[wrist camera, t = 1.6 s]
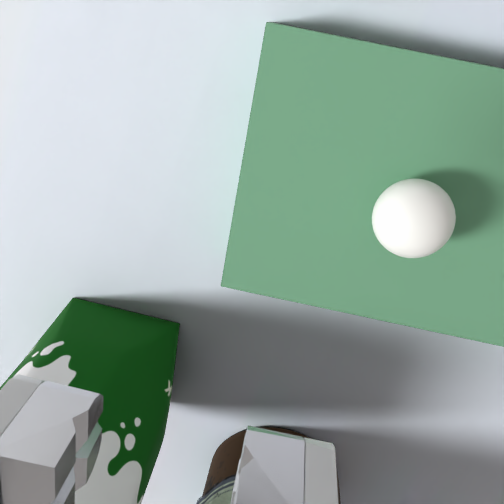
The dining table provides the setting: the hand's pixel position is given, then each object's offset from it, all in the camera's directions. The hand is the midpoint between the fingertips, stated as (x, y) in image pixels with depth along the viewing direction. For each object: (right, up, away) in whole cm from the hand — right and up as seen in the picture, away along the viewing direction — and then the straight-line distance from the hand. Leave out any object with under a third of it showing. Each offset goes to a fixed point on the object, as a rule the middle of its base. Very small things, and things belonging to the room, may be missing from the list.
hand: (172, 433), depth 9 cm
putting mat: (+12, +6, +17) cm, 22 cm away
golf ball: (+8, +5, +13) cm, 16 cm away
